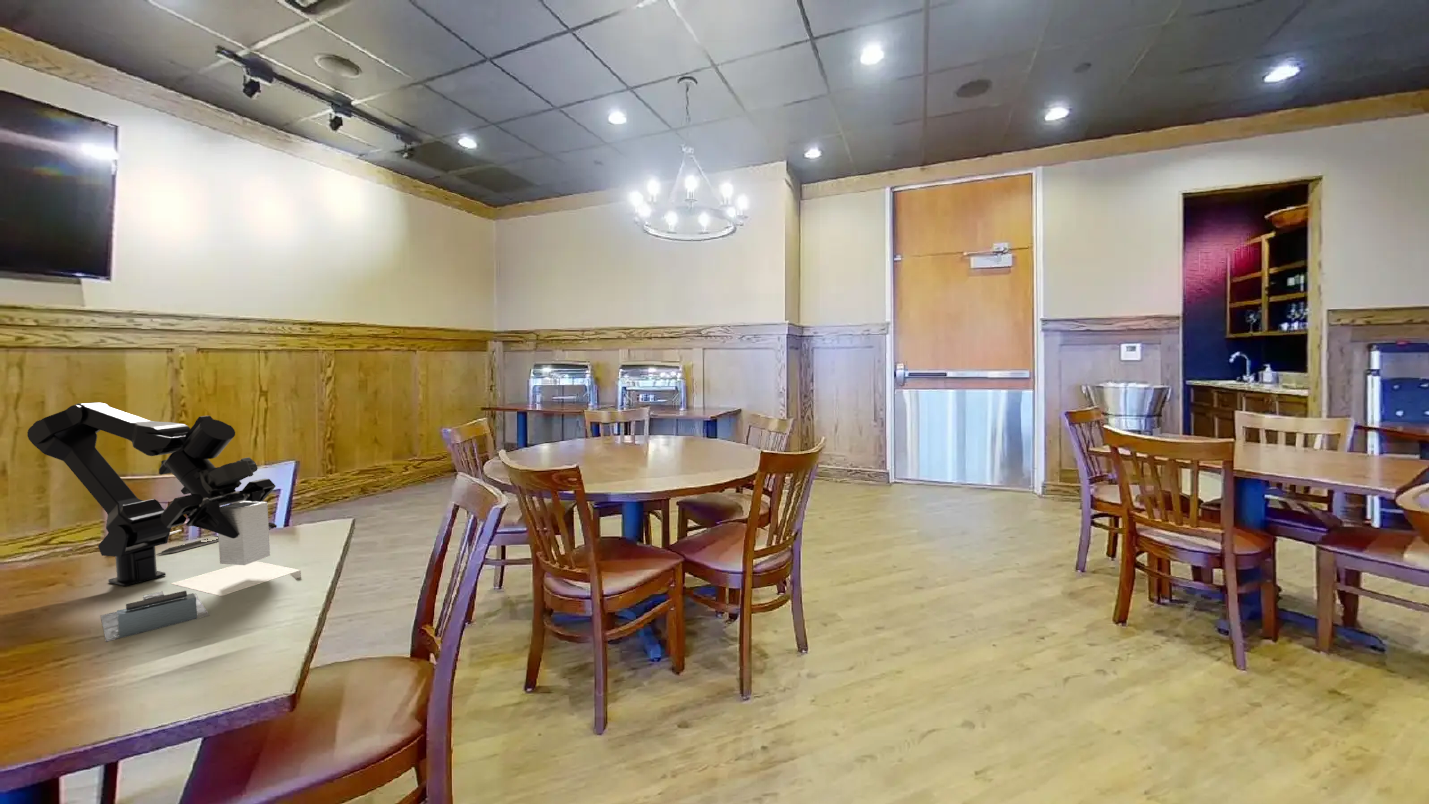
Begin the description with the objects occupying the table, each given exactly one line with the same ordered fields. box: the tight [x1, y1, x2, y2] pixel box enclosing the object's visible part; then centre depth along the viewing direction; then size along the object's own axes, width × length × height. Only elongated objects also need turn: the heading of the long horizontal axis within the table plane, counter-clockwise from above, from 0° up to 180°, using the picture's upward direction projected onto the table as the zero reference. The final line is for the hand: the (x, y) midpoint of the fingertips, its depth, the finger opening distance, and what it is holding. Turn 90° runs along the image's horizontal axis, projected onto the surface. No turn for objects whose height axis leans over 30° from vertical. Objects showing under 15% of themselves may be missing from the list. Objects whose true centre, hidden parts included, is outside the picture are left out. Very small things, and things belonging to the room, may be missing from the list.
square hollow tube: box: [217, 501, 271, 566], centre depth 112 cm, size 5×5×11 cm
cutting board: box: [170, 560, 302, 597], centre depth 114 cm, size 16×14×2 cm
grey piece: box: [100, 590, 210, 643], centre depth 96 cm, size 14×12×6 cm
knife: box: [156, 522, 278, 556], centre depth 143 cm, size 25×6×1 cm, turn 156°
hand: (250, 532), depth 112 cm, fingers closed on square hollow tube, 5 cm apart
